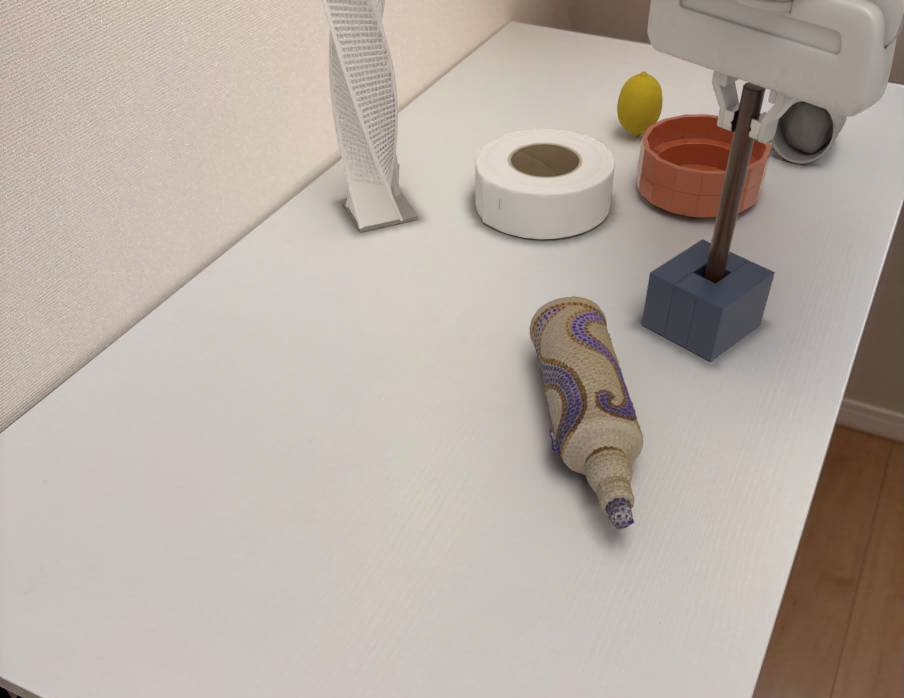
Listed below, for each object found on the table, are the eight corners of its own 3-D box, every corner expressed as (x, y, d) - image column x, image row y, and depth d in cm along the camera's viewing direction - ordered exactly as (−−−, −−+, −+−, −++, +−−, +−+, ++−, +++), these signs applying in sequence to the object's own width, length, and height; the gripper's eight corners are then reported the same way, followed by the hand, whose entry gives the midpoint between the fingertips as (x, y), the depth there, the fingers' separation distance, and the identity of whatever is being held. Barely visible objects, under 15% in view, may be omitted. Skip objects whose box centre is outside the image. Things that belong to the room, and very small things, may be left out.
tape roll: (446, 203, 110) (445, 157, 106) (541, 158, 117) (544, 113, 113) (541, 257, 102) (544, 210, 98) (638, 206, 109) (644, 159, 105)
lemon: (628, 122, 123) (636, 58, 117) (665, 134, 121) (675, 70, 115) (605, 138, 120) (612, 73, 114) (642, 151, 118) (651, 85, 112)
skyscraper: (422, 225, 107) (410, -54, 86) (354, 240, 105) (325, -41, 84) (398, 191, 112) (380, -80, 91) (333, 205, 110) (299, -69, 89)
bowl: (782, 191, 111) (795, 141, 106) (710, 237, 104) (721, 186, 100) (684, 151, 118) (692, 103, 113) (611, 192, 111) (617, 142, 107)
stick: (723, 296, 91) (770, 85, 76) (712, 304, 90) (757, 93, 75) (707, 289, 92) (751, 79, 77) (696, 296, 91) (738, 86, 76)
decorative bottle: (524, 353, 91) (528, 294, 86) (601, 349, 91) (609, 290, 86) (566, 555, 74) (574, 496, 69) (661, 549, 74) (675, 489, 69)
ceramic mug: (842, 142, 118) (859, 79, 113) (825, 170, 114) (843, 106, 108) (758, 126, 122) (772, 64, 116) (739, 153, 117) (752, 89, 112)
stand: (760, 324, 94) (775, 272, 89) (710, 362, 90) (722, 308, 85) (691, 290, 98) (702, 238, 93) (641, 324, 94) (649, 272, 89)
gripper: (939, -32, 65) (876, 160, 75) (697, -91, 75) (671, 86, 85) (892, -7, 62) (834, 189, 73) (647, -72, 72) (627, 108, 83)
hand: (744, 133), depth 79 cm, fingers closed on stick, 2 cm apart
